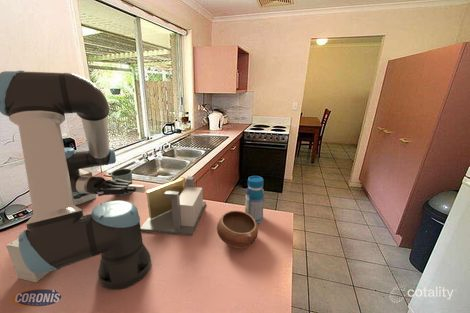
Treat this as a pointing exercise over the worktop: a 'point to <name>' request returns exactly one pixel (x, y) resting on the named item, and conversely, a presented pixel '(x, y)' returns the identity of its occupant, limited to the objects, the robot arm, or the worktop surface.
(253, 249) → the worktop surface
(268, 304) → the worktop surface
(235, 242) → the bowl
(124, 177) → the drinking glass
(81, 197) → the tea box
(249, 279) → the worktop surface
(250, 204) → the beverage bottle
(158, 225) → the base
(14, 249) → the supplement box
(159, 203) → the tan rectangular upright panel
